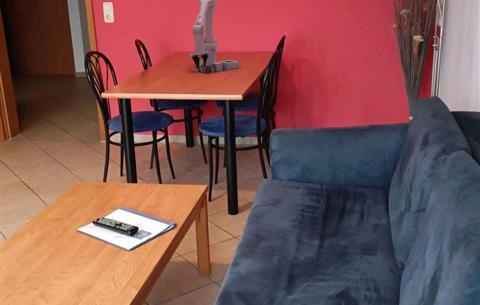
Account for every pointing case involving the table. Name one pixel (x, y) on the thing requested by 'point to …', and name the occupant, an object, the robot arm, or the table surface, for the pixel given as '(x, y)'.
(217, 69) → the pin guide
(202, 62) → the peg
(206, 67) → the pin
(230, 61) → the socket
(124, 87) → the table surface
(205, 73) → the base plate
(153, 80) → the table surface
